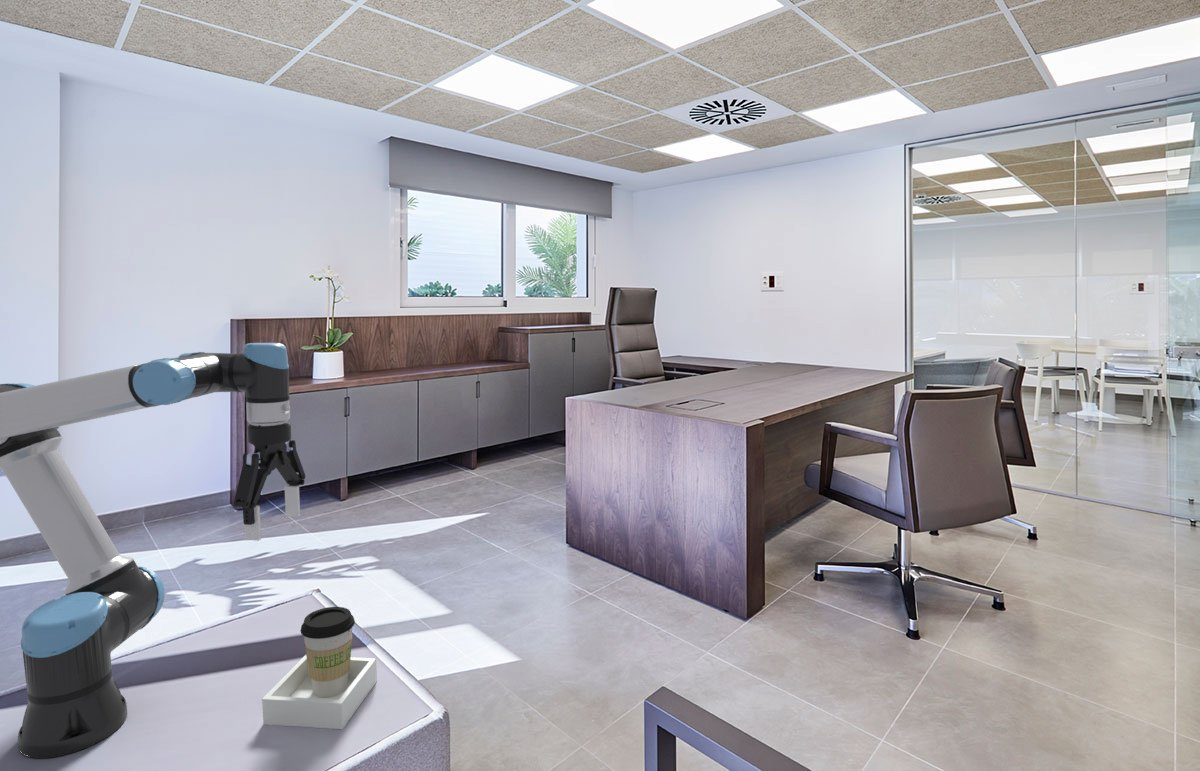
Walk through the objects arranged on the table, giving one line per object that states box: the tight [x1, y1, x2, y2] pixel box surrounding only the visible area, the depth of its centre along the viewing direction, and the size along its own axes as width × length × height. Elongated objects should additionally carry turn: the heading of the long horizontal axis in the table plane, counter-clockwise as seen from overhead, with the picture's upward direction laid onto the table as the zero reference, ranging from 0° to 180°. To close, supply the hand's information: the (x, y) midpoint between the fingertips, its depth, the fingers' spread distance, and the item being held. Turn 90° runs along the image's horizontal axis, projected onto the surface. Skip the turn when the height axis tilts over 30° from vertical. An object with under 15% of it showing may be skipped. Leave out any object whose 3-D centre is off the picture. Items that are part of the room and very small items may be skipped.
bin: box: [261, 654, 378, 730], centre depth 124 cm, size 15×15×5 cm
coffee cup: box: [300, 606, 356, 698], centre depth 126 cm, size 10×10×15 cm
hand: (274, 527), depth 127 cm, fingers open, 13 cm apart
